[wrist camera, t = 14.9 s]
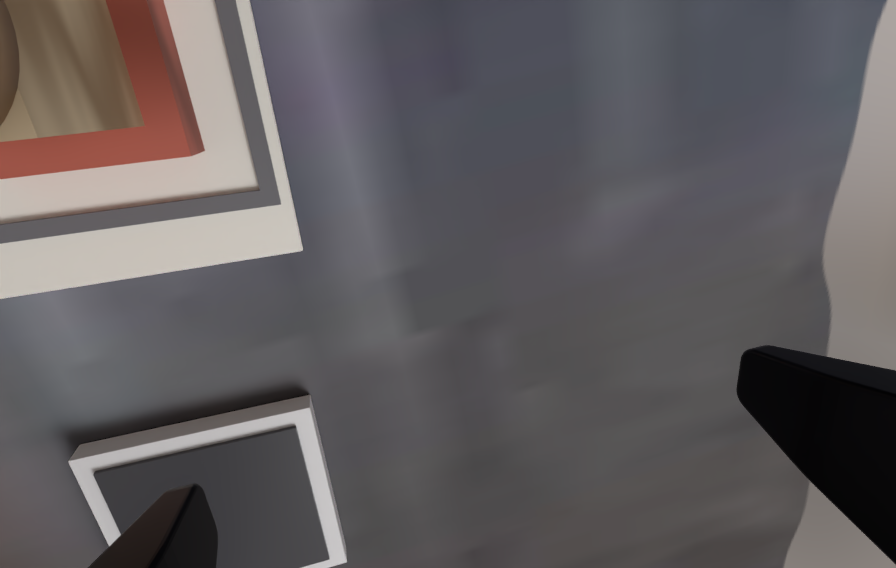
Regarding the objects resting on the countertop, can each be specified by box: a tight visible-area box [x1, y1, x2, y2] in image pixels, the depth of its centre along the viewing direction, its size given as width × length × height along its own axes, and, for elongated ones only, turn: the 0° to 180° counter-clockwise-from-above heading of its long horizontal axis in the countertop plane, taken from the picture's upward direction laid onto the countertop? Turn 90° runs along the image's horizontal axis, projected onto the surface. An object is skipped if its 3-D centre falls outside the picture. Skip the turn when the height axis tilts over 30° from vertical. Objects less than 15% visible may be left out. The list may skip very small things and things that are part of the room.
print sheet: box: [0, 0, 303, 299], centre depth 15 cm, size 14×11×1 cm
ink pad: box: [68, 395, 347, 568], centre depth 21 cm, size 9×9×1 cm
